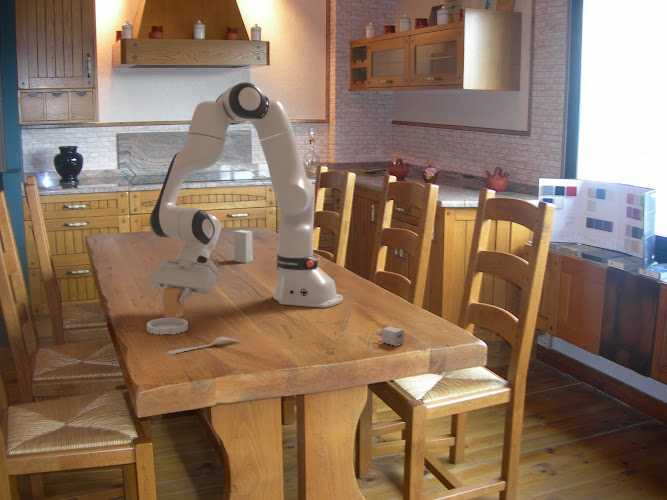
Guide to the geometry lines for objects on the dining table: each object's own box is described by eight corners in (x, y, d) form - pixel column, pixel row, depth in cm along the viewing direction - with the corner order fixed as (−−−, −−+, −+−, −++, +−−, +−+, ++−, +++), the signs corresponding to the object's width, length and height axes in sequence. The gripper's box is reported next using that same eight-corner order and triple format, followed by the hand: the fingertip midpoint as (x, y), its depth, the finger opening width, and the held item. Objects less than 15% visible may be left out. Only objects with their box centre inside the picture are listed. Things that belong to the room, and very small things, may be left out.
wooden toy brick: (183, 315, 229) (182, 289, 227) (175, 318, 225) (174, 292, 223) (172, 313, 230) (171, 287, 229) (164, 317, 227) (163, 290, 225)
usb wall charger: (394, 347, 202) (395, 332, 201) (374, 341, 207) (374, 327, 206) (403, 343, 205) (404, 329, 204) (383, 338, 210) (383, 324, 209)
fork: (164, 362, 196) (163, 352, 196) (239, 341, 207) (238, 331, 206) (168, 365, 194) (167, 355, 193) (243, 344, 204) (242, 334, 204)
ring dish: (195, 326, 218) (195, 320, 218) (171, 336, 208) (171, 331, 208) (163, 321, 222) (163, 315, 222) (138, 331, 213) (138, 325, 212)
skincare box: (253, 261, 304) (252, 231, 301) (246, 263, 300) (245, 232, 298) (240, 259, 307) (240, 229, 304) (234, 261, 303) (233, 231, 301)
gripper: (157, 253, 235) (138, 291, 228) (214, 259, 226) (196, 300, 219) (167, 264, 240) (148, 302, 233) (223, 271, 231) (205, 311, 224)
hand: (172, 301), depth 226 cm, fingers closed on wooden toy brick, 4 cm apart
